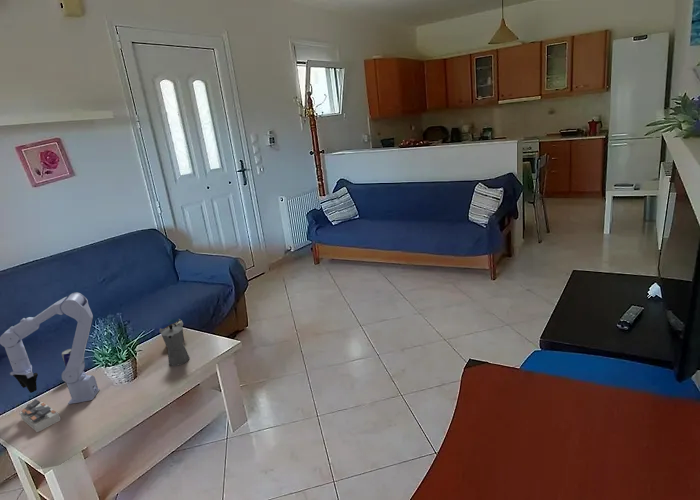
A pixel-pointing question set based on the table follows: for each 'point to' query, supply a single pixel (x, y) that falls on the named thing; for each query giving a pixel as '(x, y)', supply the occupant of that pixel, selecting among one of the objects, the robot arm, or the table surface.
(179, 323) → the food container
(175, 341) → the coffeepot
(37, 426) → the switch unit
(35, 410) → the rocker
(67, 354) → the energy drink
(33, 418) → the rocker
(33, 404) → the rocker
